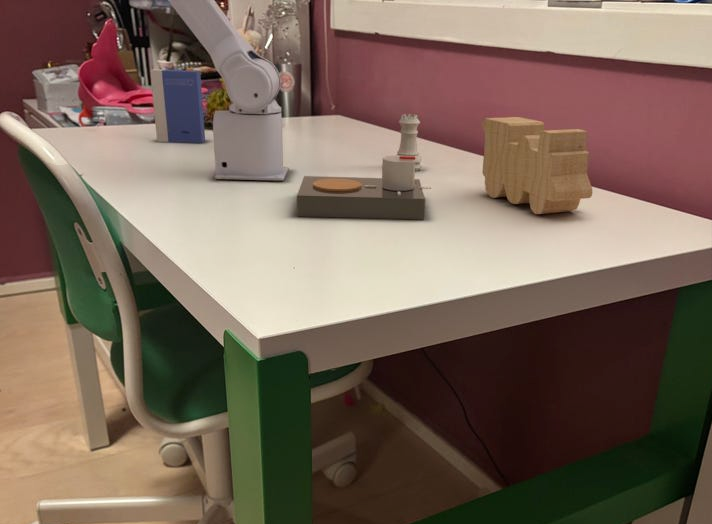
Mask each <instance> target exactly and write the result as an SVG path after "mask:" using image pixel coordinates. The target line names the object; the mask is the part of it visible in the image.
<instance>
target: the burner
mask: <svg viewBox="0 0 712 524" xmlns="http://www.w3.org/2000/svg"><path fill="white" fill-rule="evenodd" d="M313 187H314V188H316V189H319V190H324V191H335V192H343V191H353V190H358V189H360V188H361V187H362V184H361V183H360V182H358V181H354V180H349V179H322V180H317V181H315V182H313Z"/></svg>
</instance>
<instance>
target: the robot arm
mask: <svg viewBox="0 0 712 524" xmlns="http://www.w3.org/2000/svg"><path fill="white" fill-rule="evenodd" d="M167 2H169V4H170V6H172V7H173V9H174V10H175V12H176V13H177V14H178V15H179V17H180V19H182V21H183V22H184V23H185V25H186V26H187V27H188V28H189V30H190V31H191V32H192V34H193V35H194V36H195V37H196V39H197V40H198V41H199V43H200V44H201V45H202V47H203V48H204V49H205V50H206V52H207V53H208V55H209V56H210V58H211V60H212V63H213V65H214V68H215V70H216V71H217V74H219V75H220V78H223V80H224V82H225V86H226V90H227V94H228V96H229V98H230V100H231V101H232V102H233V104H230V105H229V111H216V112H215V114H214V118H213V126H212V137H213V138H212V139H213V150H214V151H213V152H214V165H215V175H214V178H215V179H216V180H245V181H247V180H249V181H284V180H285V178H286V176H287V174H288V172H289V167H288V166H284V148H283V144H284V143H283V116H282V115H283V114H282V106H280V105H279V104H278V103H277V101H276V99H275V98H276V97H277V95H278V94H279V92H280V89H281V86H282V85H281V84H282V81H281V76H280V72H279V70H278V68H277V67H276V65H275V64H274V63H273V62H272V61H270V60H269V59H267V58H265V57H263V56H261V55H260V54H259V53H258V52H257V51H256V50H255V49H254V47H253V46H252V45H251V44H250V43H249V41H247V39H245V37H243V36H242V35H241V34H240V33H239V31H238V30H237V29H236V27H235V26H234V24H233V23H232V22H231V21H230V19H229V18H228V17H227V15H226V14H225V12H224V11H223V10H222V8H221V7H220V6H219V4H218V3H217V2H216V1H215V0H167Z"/></svg>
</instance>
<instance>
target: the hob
mask: <svg viewBox="0 0 712 524" xmlns="http://www.w3.org/2000/svg"><path fill="white" fill-rule="evenodd" d="M322 179H349V180H354V181H358V182H360V183H361V184H362V187H361V188H360V189H358V190H353V191H343V192H335V191H324V190H319V189H316V188H314V187H313V182H315V181H317V180H322ZM431 189H432V187H431V186H422V183H421V180H420V178H415V180H414V189H412V190H407V191H393V190H387V189H384V188H382V177H358V176H357V177H356V176H355V177H354V176H352V177H351V176H321V175H320V176H319V175H318V176H316V175H304V176H303V178H302V181H301V184H300V186H299V188H298V191H297V194H296V216H297V217H299V218H301V217H302V218H303V217H305V218H338V219H339V218H340V219H341V218H342V219H344V218H345V219H346V218H347V219H381V220H384V219H385V220H416V221H417V220H419V221H420V220H423V221H424V220H425V213H426V197H425V194H424V190H431Z"/></svg>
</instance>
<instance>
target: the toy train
mask: <svg viewBox="0 0 712 524" xmlns="http://www.w3.org/2000/svg"><path fill="white" fill-rule="evenodd" d="M481 128H482V131H483V134H484V136H485V137H484V149H483V150H484V151H483V159H482V170H481V171H482V172H481V173H482V176H483V177H484V187H485V191H486V193H487V195H488V197H490V198H493V199H496V198H497V199H498V198H507V200H508V202H509V203H510V204H514V205H518V204H528V203H529V207H530V210H531V211H532V212H533V214H535V215H544V214H545V215H546V214H557V213H566V212H574V211H575V210H577V209H578V207H579V205H580V203H581V200H582V199H583V200H584V199H591V198H592V196H593V187H592V184H591V181H590V179H589V175H588V166H589V158H590V152H589V151H587V150H586V144H587V135H588V131H587V130H583V129H579V128H575V129H574V128H572V129H571V128H570V129H550V130H549V129H547V130H545V124H544V122H543V121H539V120H536V119H531V118H526V117H522V116H521V117H520V116H510V117H508V116H507V117H485V118H483V119H482V121H481Z"/></svg>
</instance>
